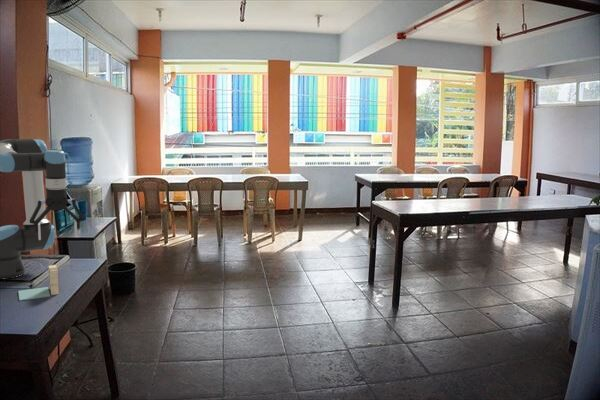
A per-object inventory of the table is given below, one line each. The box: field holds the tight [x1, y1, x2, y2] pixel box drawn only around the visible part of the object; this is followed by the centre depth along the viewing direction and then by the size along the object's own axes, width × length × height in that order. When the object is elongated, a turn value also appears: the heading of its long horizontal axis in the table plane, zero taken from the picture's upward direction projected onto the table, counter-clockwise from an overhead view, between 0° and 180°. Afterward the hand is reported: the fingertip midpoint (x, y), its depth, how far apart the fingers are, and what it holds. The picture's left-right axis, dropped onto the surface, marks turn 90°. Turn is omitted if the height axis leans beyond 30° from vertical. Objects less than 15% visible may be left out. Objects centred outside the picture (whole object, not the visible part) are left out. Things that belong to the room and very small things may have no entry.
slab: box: [47, 264, 60, 296], centre depth 209 cm, size 8×3×11 cm, turn 32°
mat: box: [18, 286, 51, 302], centre depth 205 cm, size 11×12×1 cm
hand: (58, 237), depth 199 cm, fingers open, 13 cm apart
